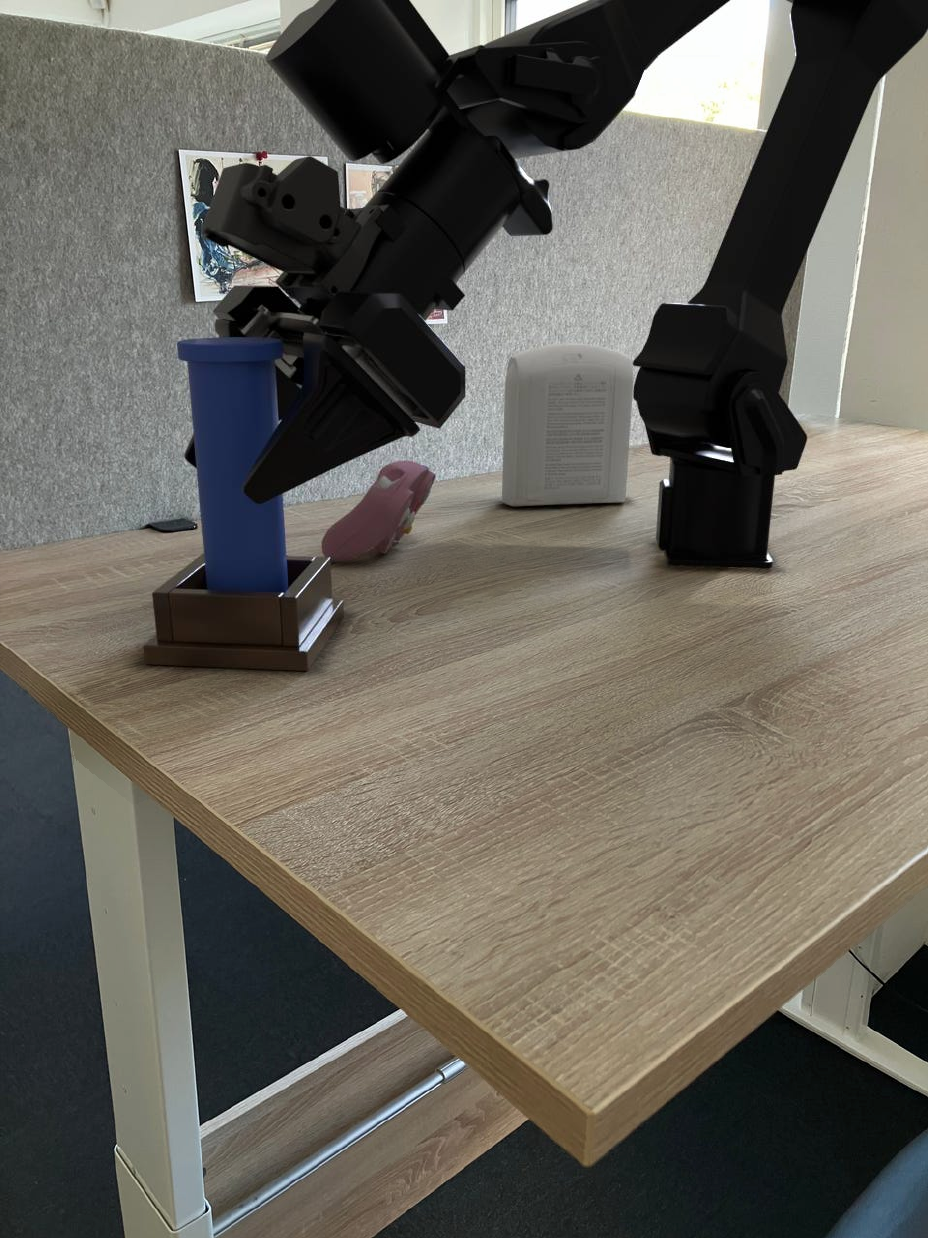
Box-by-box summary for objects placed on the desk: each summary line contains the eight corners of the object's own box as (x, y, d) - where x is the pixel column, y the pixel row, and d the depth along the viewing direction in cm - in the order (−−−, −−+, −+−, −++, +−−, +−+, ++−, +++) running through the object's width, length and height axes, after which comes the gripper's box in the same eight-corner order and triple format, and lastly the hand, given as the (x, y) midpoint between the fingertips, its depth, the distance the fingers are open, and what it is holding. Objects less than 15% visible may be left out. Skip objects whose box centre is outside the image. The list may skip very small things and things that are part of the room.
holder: (344, 616, 56) (342, 554, 55) (307, 671, 48) (303, 601, 47) (202, 611, 57) (197, 550, 55) (144, 664, 49) (137, 595, 48)
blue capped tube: (317, 616, 53) (303, 339, 48) (252, 643, 49) (231, 346, 44) (248, 600, 55) (229, 335, 51) (181, 625, 51) (154, 341, 47)
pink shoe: (374, 590, 65) (421, 495, 63) (312, 555, 65) (356, 459, 63) (412, 549, 74) (455, 466, 72) (357, 519, 74) (398, 434, 72)
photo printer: (615, 493, 85) (622, 340, 81) (634, 504, 81) (643, 344, 77) (495, 499, 83) (497, 342, 79) (509, 511, 79) (512, 346, 75)
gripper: (238, 123, 54) (44, 349, 52) (395, 68, 38) (128, 384, 37) (378, 279, 60) (209, 485, 59) (561, 285, 45) (339, 563, 43)
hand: (218, 479), depth 49 cm, fingers open, 9 cm apart
